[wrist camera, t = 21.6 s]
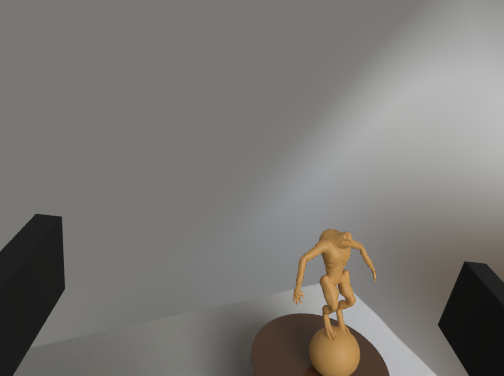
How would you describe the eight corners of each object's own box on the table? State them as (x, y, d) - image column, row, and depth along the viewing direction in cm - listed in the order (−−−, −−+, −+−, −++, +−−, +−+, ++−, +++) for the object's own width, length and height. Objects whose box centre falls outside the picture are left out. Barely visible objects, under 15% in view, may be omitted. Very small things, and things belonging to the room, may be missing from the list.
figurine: (303, 408, 30) (339, 272, 26) (260, 350, 35) (284, 225, 30) (382, 372, 35) (426, 249, 30) (334, 324, 39) (366, 211, 34)
